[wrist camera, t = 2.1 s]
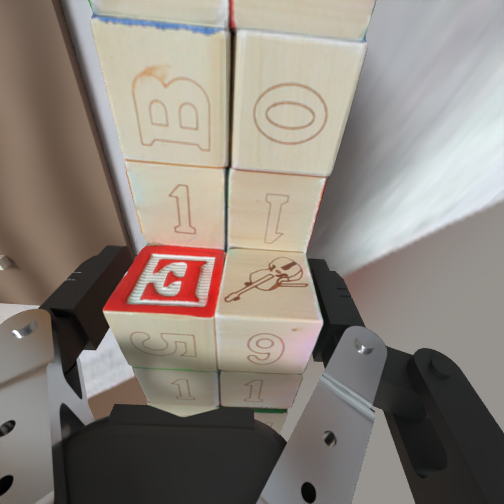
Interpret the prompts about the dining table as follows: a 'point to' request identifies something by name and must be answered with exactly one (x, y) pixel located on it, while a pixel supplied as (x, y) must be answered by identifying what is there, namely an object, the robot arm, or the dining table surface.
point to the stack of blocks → (225, 187)
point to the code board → (48, 158)
